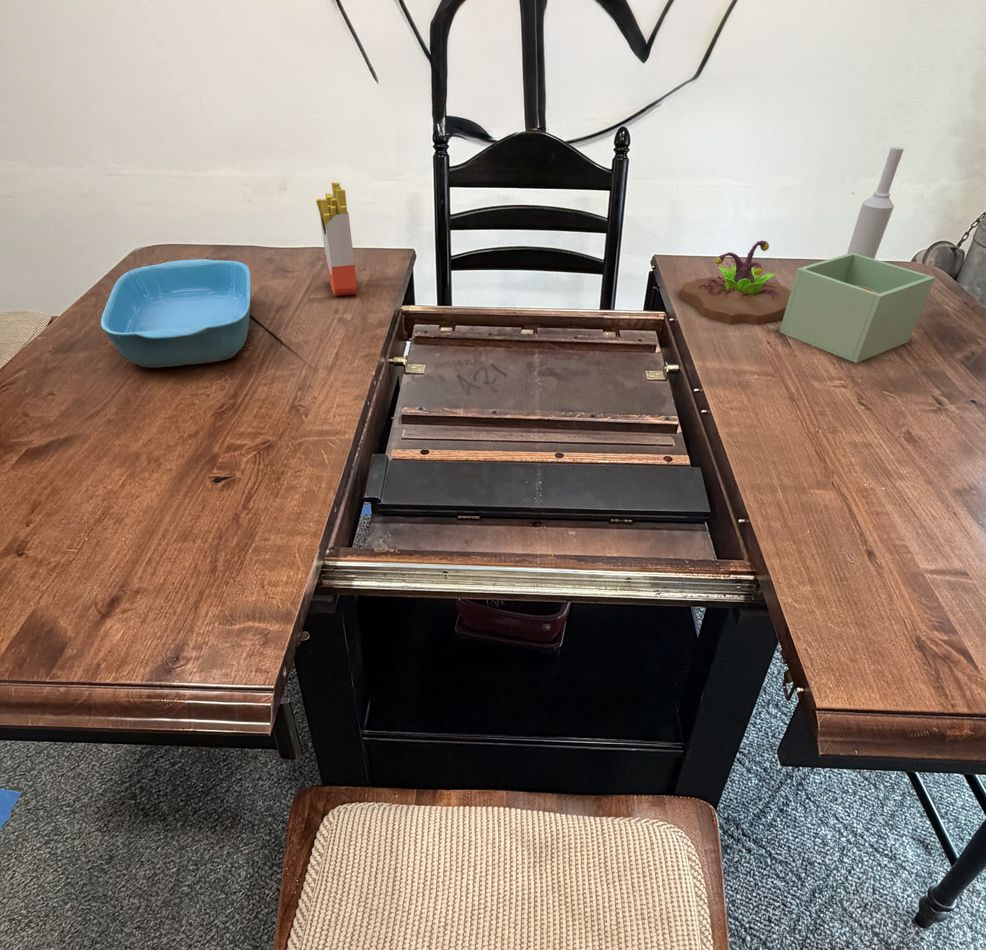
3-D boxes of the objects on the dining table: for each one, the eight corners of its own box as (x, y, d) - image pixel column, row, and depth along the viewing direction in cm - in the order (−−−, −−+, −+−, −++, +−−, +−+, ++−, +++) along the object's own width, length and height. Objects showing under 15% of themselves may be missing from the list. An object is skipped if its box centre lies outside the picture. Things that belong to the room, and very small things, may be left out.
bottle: (860, 306, 133) (915, 152, 116) (831, 302, 135) (881, 149, 118) (859, 297, 137) (913, 146, 120) (831, 293, 138) (880, 143, 121)
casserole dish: (134, 300, 132) (120, 259, 127) (257, 291, 136) (249, 251, 131) (106, 388, 106) (88, 341, 101) (260, 373, 110) (250, 328, 105)
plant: (815, 321, 128) (836, 255, 120) (716, 331, 124) (732, 263, 116) (758, 283, 142) (774, 222, 134) (668, 291, 138) (679, 228, 131)
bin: (907, 344, 121) (935, 277, 113) (854, 366, 114) (880, 296, 107) (831, 316, 130) (852, 252, 122) (778, 334, 123) (797, 268, 116)
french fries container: (334, 303, 132) (319, 194, 120) (327, 283, 139) (312, 179, 127) (359, 300, 133) (346, 193, 121) (350, 281, 140) (338, 178, 128)
